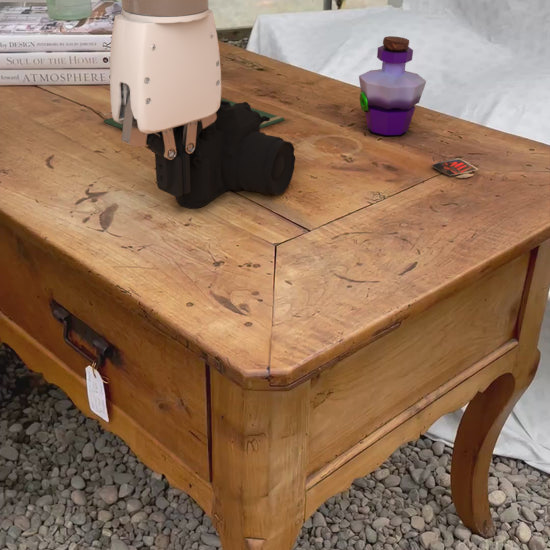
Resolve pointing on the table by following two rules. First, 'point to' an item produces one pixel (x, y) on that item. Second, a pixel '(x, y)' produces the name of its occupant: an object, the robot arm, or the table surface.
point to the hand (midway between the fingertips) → (174, 190)
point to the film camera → (237, 157)
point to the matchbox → (455, 167)
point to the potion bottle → (391, 90)
